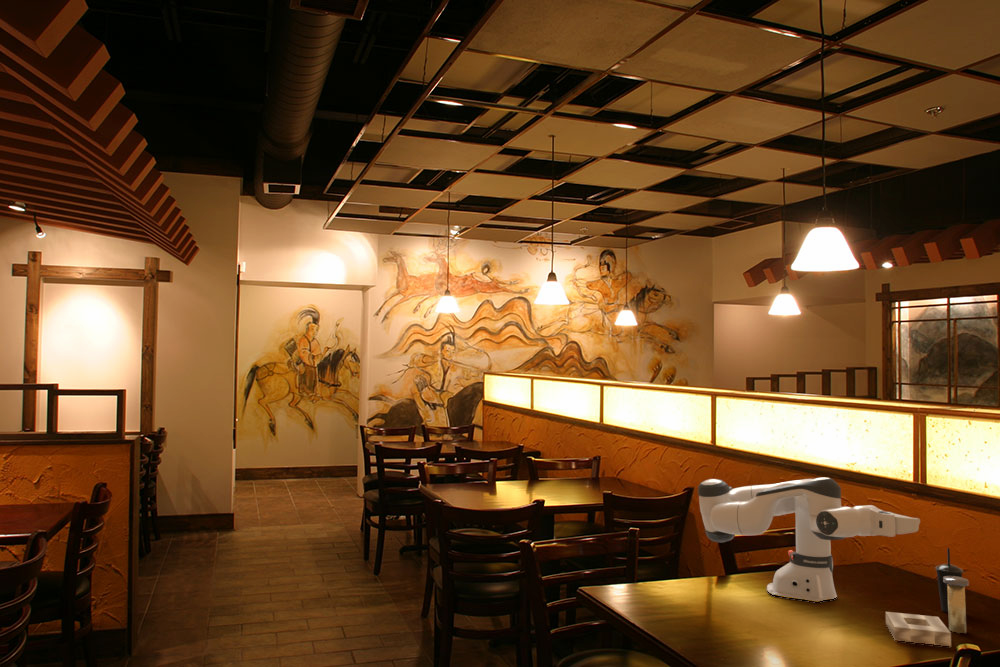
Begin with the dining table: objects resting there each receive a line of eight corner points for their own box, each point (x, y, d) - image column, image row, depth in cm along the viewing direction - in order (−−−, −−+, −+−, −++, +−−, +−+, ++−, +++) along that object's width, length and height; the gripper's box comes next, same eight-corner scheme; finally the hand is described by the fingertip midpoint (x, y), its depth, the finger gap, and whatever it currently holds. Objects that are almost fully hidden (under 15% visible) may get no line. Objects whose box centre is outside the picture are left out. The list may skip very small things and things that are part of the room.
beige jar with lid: (948, 633, 210) (946, 580, 211) (942, 626, 216) (940, 575, 217) (973, 635, 208) (971, 583, 209) (967, 628, 214) (965, 577, 215)
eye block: (894, 641, 204) (894, 626, 204) (885, 625, 217) (885, 611, 217) (951, 647, 199) (950, 632, 199) (938, 630, 212) (938, 616, 213)
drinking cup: (964, 617, 224) (962, 552, 225) (936, 612, 228) (934, 549, 230) (964, 610, 231) (962, 547, 232) (936, 606, 235) (934, 544, 236)
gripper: (843, 523, 226) (879, 521, 230) (895, 538, 206) (933, 535, 210) (843, 503, 226) (878, 501, 230) (895, 516, 207) (932, 513, 210)
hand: (905, 517), depth 220 cm, fingers open, 8 cm apart
